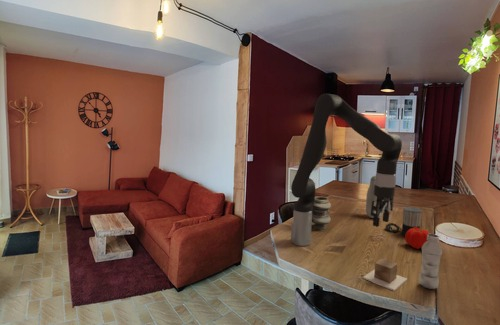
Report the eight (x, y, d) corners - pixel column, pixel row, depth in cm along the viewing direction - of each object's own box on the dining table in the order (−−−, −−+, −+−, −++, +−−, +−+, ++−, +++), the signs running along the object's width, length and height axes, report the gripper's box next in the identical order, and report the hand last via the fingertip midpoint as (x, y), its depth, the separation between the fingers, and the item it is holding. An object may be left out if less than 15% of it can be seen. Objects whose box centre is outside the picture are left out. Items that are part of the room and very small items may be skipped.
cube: (374, 277, 116) (375, 262, 116) (381, 272, 120) (382, 258, 120) (389, 283, 112) (391, 268, 111) (396, 278, 116) (397, 263, 115)
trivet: (363, 278, 117) (363, 276, 117) (376, 268, 125) (376, 267, 125) (394, 291, 108) (394, 289, 108) (407, 280, 116) (407, 278, 116)
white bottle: (362, 216, 197) (365, 175, 193) (373, 215, 201) (376, 174, 198) (374, 221, 188) (377, 177, 184) (385, 219, 192) (388, 176, 189)
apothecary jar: (307, 230, 170) (309, 199, 167) (309, 223, 181) (311, 194, 179) (329, 232, 166) (331, 201, 164) (330, 225, 178) (332, 196, 175)
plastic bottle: (430, 281, 115) (435, 232, 112) (442, 291, 108) (448, 239, 106) (414, 281, 115) (418, 232, 112) (425, 291, 108) (430, 239, 106)
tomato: (435, 252, 142) (437, 234, 141) (408, 250, 145) (409, 232, 144) (426, 243, 153) (428, 227, 152) (401, 241, 155) (403, 225, 154)
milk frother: (423, 238, 160) (425, 211, 158) (393, 237, 161) (395, 210, 159) (410, 229, 174) (412, 204, 173) (383, 228, 175) (384, 203, 173)
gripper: (383, 180, 125) (379, 217, 127) (367, 184, 115) (363, 224, 118) (402, 184, 119) (397, 222, 122) (386, 188, 110) (381, 230, 112)
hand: (380, 223), depth 120 cm, fingers open, 8 cm apart
